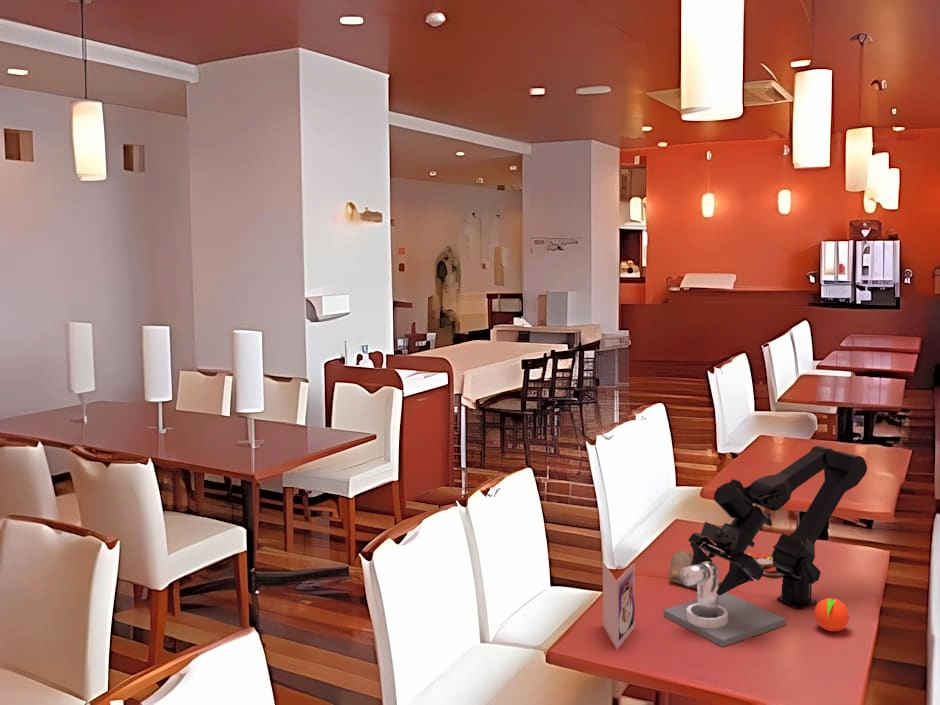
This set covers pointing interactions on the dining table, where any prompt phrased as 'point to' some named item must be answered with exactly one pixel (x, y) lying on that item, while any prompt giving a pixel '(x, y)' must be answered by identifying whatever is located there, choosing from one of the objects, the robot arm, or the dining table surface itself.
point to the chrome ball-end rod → (703, 586)
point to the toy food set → (766, 563)
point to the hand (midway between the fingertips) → (703, 586)
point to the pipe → (681, 566)
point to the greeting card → (619, 604)
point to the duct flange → (726, 620)
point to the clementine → (831, 614)
